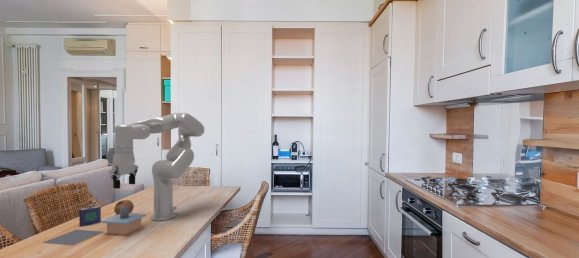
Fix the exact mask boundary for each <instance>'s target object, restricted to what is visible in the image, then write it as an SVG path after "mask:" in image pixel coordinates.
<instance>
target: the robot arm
mask: <svg viewBox="0 0 579 258" xmlns="http://www.w3.org/2000/svg"><path fill="white" fill-rule="evenodd" d="M175 129H177V134H178V138H177V139H178V140H177V141H176V143H175V144H174V145H173V146H172V147H171V148H170V149H169V150H168V152H167V153H166V155H165V159H166V160H165V159H162V160H160V159H159V160H157V161H155V162H154V163H153V164H152V166H151V174H152V178H153V214H152V215H151V216H150V220H152V221H161V222H162V221H167V220H171V219H174V218H176V216H177V215H176V212H174V211H175V210H177V206H176V205H173V202H174V200H173V199H174V198H173V197H174V196H173V195H174V194H173V193H174V192H173V189H174V187H173V181H172V179H174V180H176V179H179V178H180V177H182V176H183V175H184V173H185V172H186V171H187V170H188V168H189V167H190V166H191V165H192V163H193V162H194V158H195V153H194V151H193V150H192V149H191V148H192V141H191V138H192V137H196V138H197V137H201V136H203V134H204V133H205V126H204V125H203V123H202V122H201V121H199V120H198V119H197V118H196V117H194V116H193V115H191V114H190V113H188V112H174V113H170V114H167V115H162V116H159V117H154V118H149V119H145V120H141V121H136V122H131V123H129V124H116V125H115V127H114V152H115V153H114V154H113V156H112V163H111V169H110V170H109V171H108V173H109V176H110V178H111V180H112V183H113V184H112V186H113V189H121V177H122V176H126V175H129V176H128V184H129V185H136V176H137V173H138V169H139V165H137V164H136V160H135V153H134V140H146V139H147V138H149V137H150V136H151V134H160V133H165V132H167V131H168V132H169V131H171V130H175Z"/></svg>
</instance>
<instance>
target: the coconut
mask: <svg viewBox="0 0 579 258" xmlns="http://www.w3.org/2000/svg"><path fill="white" fill-rule="evenodd" d="M123 206H129V213H133V210H134V207H135V206H134V203H133V202H132V201H131V200H129V199H124V200H119V201H118V202H117V203H116V204H115V206H114V209H113V210H114V211H113V212H114V213H115V215H118V214H120V207H123Z"/></svg>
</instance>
